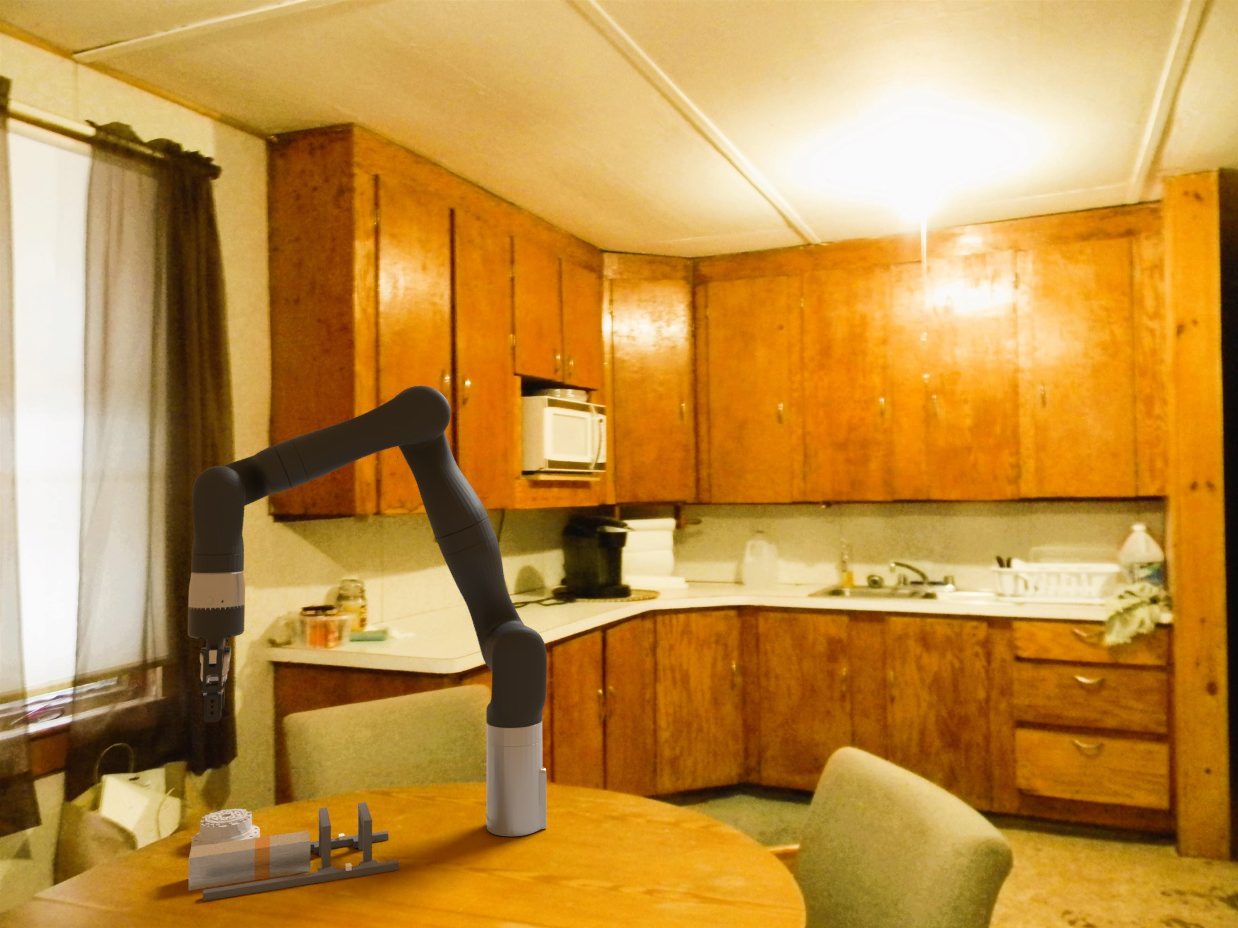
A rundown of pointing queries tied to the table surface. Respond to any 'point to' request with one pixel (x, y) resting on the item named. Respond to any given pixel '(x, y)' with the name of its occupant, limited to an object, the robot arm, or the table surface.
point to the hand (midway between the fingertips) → (214, 714)
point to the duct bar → (249, 860)
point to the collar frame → (323, 859)
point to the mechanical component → (225, 827)
